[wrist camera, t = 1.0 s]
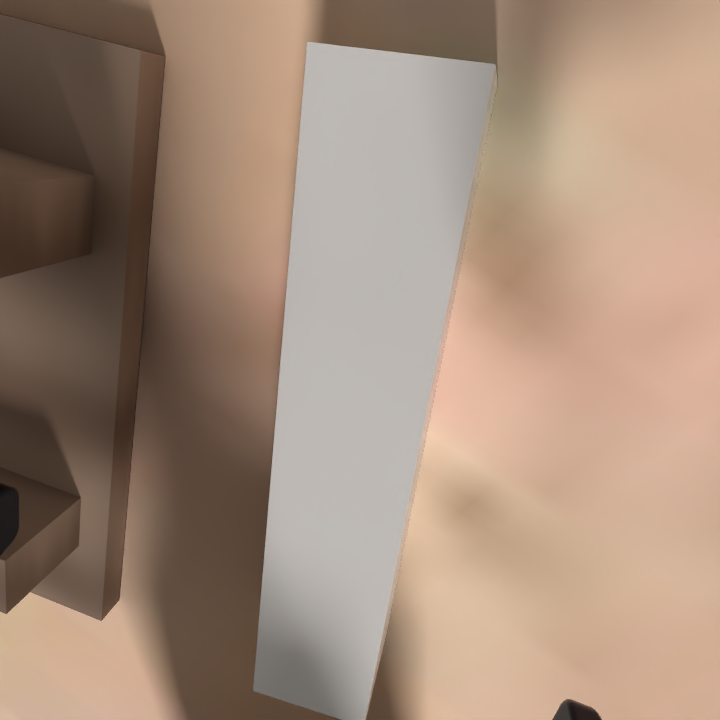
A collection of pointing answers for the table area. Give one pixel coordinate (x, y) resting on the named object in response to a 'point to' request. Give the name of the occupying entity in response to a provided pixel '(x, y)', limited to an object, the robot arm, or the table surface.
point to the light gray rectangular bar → (361, 354)
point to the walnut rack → (71, 301)
